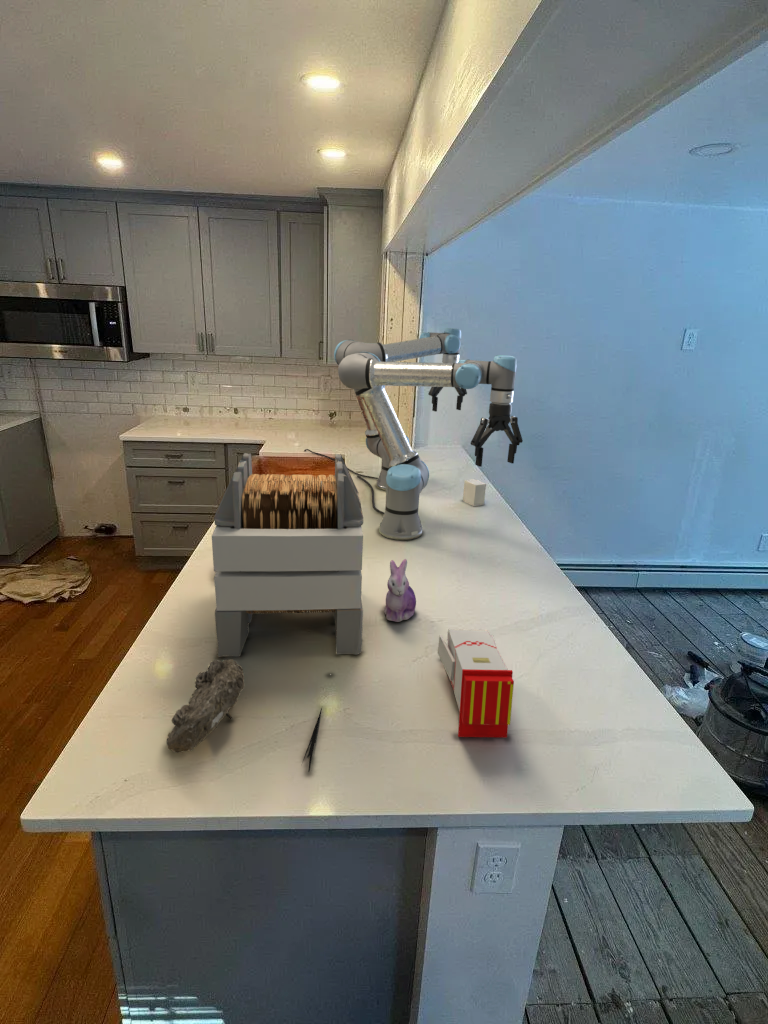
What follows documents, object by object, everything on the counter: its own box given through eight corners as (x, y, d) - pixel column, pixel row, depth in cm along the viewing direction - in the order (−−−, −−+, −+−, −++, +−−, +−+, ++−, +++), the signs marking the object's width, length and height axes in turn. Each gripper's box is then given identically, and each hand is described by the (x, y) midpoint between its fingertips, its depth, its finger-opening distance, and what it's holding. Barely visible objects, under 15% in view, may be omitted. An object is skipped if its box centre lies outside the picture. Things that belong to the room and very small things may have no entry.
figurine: (392, 627, 141) (395, 572, 136) (374, 608, 149) (376, 556, 144) (425, 619, 145) (429, 566, 140) (405, 601, 154) (408, 550, 149)
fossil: (192, 660, 117) (244, 628, 112) (224, 691, 120) (276, 661, 115) (142, 746, 98) (202, 712, 93) (182, 779, 101) (242, 748, 96)
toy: (488, 613, 130) (523, 677, 101) (484, 667, 133) (517, 744, 104) (435, 612, 130) (455, 676, 101) (432, 666, 133) (451, 743, 103)
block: (473, 506, 232) (475, 485, 229) (462, 500, 238) (464, 480, 235) (483, 504, 234) (486, 483, 231) (472, 499, 240) (474, 478, 237)
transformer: (236, 587, 157) (228, 443, 143) (353, 586, 161) (357, 445, 147) (215, 659, 125) (203, 483, 111) (362, 655, 129) (368, 484, 115)
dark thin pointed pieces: (331, 679, 122) (336, 673, 122) (307, 777, 96) (313, 769, 95) (324, 675, 122) (329, 669, 121) (298, 772, 95) (304, 764, 95)
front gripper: (476, 406, 183) (470, 469, 190) (537, 403, 193) (530, 463, 200) (463, 402, 189) (458, 464, 196) (523, 400, 200) (516, 458, 207)
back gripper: (432, 364, 250) (428, 413, 257) (477, 364, 261) (472, 410, 269) (422, 363, 256) (419, 410, 263) (467, 362, 268) (463, 407, 275)
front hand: (494, 464), depth 198 cm, fingers open, 13 cm apart
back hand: (446, 410), depth 266 cm, fingers open, 13 cm apart
